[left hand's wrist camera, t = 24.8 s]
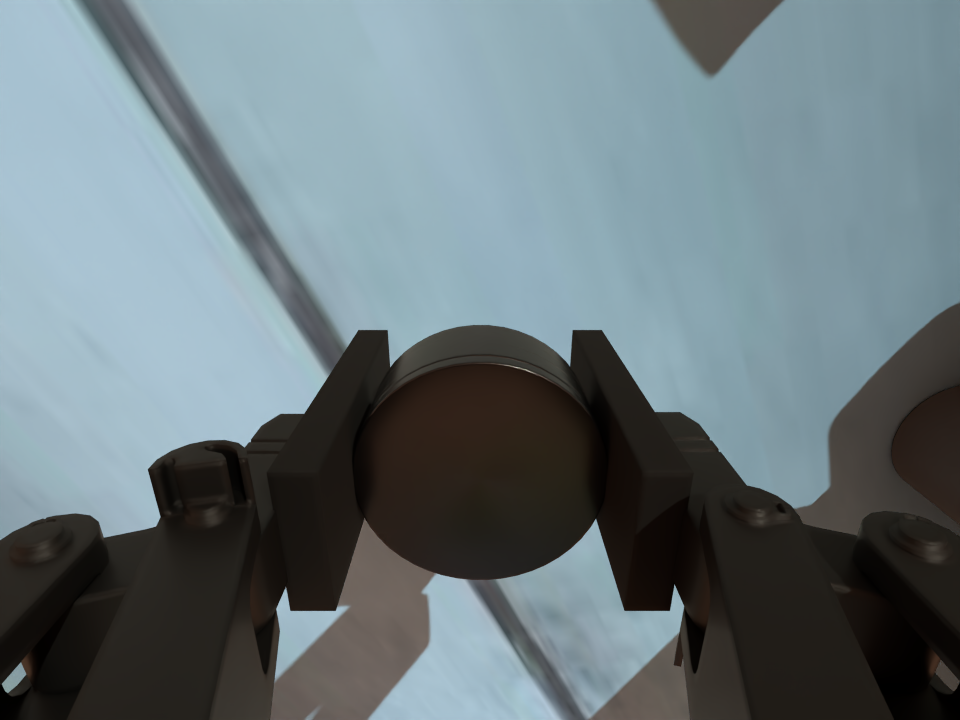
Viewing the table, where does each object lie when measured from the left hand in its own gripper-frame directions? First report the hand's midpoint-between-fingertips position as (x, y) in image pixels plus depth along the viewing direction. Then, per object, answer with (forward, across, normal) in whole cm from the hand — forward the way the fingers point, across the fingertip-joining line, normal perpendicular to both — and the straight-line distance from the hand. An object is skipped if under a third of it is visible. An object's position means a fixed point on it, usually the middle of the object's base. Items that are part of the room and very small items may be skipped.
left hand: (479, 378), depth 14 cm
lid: (-4, 0, 0) cm, 4 cm away
